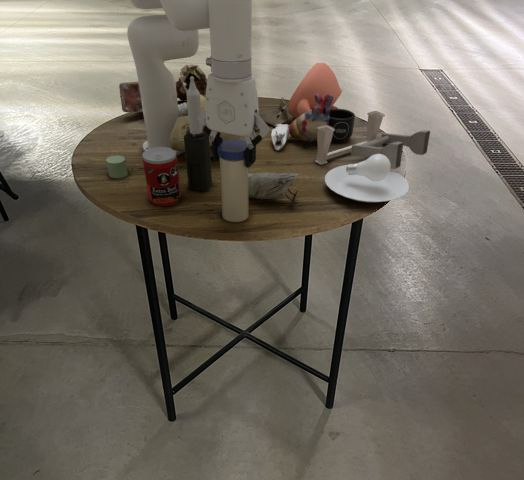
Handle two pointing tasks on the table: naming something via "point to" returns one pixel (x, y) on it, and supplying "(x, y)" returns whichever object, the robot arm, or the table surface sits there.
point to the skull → (179, 129)
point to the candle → (197, 145)
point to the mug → (341, 124)
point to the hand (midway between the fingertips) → (234, 161)
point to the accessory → (306, 145)
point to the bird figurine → (280, 135)
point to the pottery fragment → (275, 114)
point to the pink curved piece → (314, 89)
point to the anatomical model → (312, 119)
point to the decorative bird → (270, 185)
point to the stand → (117, 166)
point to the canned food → (162, 176)
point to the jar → (234, 189)
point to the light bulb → (185, 107)
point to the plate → (366, 186)
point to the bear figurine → (185, 80)
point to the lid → (232, 149)
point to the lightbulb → (371, 167)
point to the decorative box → (131, 97)
